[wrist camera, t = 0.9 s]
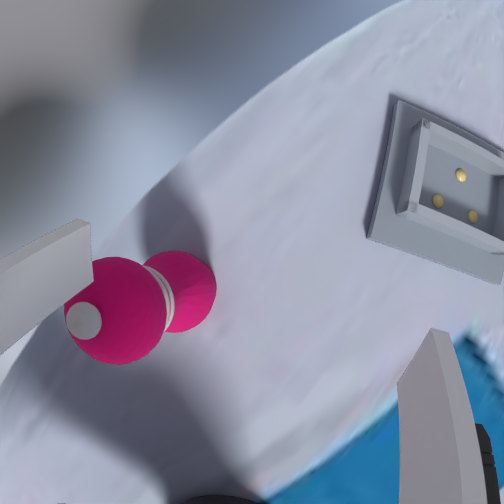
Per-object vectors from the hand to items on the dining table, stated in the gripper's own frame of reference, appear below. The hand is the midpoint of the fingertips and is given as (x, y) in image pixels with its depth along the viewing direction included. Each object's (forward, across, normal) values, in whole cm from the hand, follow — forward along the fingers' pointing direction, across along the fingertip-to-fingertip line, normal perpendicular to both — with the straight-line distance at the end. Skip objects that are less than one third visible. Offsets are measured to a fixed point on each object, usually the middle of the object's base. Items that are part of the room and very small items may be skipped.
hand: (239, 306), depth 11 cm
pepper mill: (+17, +9, +12) cm, 23 cm away
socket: (+27, -16, -3) cm, 31 cm away
